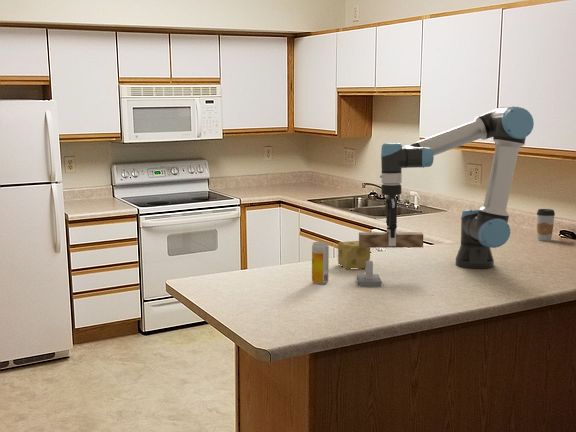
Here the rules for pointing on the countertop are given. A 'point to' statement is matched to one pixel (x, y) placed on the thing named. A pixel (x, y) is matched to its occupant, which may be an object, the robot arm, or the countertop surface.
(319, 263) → the beer can
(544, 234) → the coffee cup
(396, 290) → the countertop surface
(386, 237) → the walnut bar
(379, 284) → the fulcrum
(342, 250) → the cheese
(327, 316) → the countertop surface
